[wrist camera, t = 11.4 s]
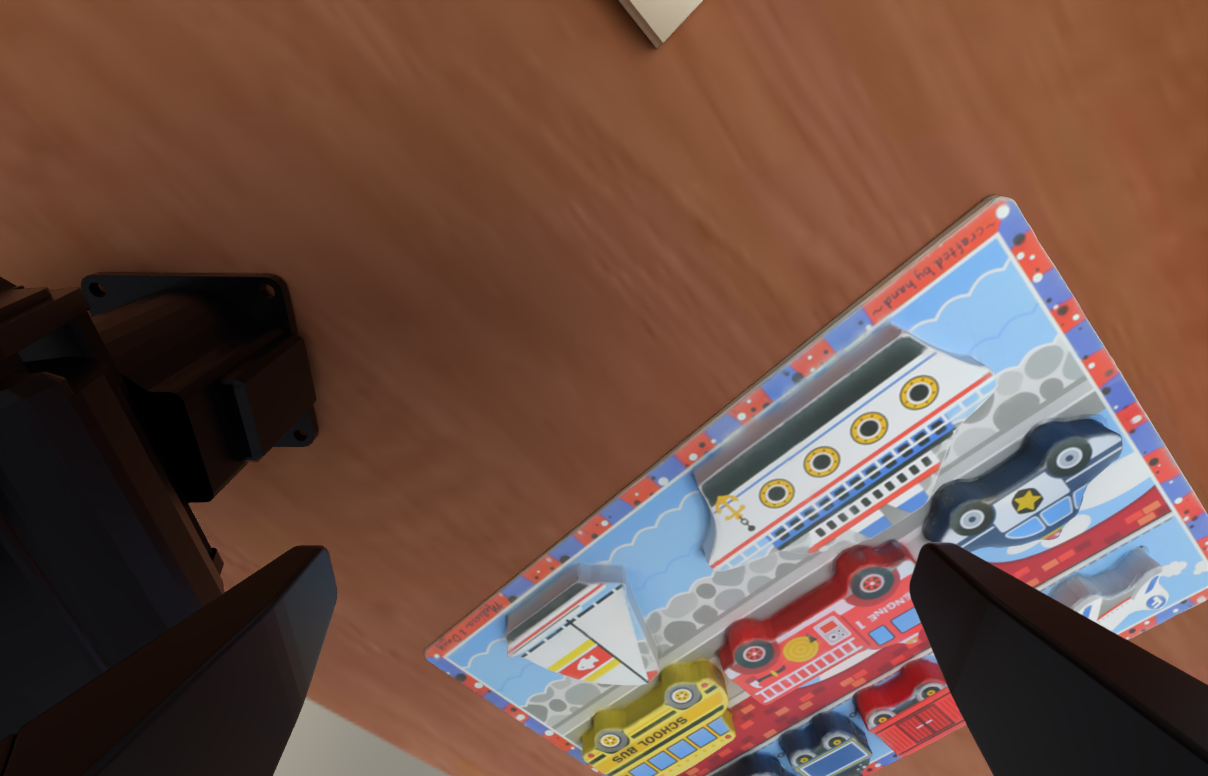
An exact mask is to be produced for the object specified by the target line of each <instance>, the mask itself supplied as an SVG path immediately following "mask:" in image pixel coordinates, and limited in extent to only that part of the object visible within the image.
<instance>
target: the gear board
mask: <svg viewBox="0 0 1208 776" xmlns="http://www.w3.org/2000/svg"><path fill="white" fill-rule="evenodd" d="M618 1H619V2H620V3H621V4H622V6H623V7H624V8H625V10H626V11H627V12H628V13H629V15H630V16H631V17H632V18H633V20H634V21H635V22H636V23H637V25H638V26H639V27H640V28H641V30H642V31H643V32H644V33H645V35H646V36H647V37H648V38H649V40H650V41H651V42H652V44H653V45H654V46H655V47H656V49H657V48H658V47H659V46H660V45H661V44H662V43H663V42H664V41H665V40H666V39H667V38H668V37H669V36H670V35H671V34H672V33H673V32H674V31H675V30H676V28H677V27H678V26H679V25H680V24H681V23H682V22H683V21H684V20H685V19H686V18H687V17H688V16H689V15H690V13H691V12H692V11H693V10H694V9H695V8H696V7H697V6H698V5H699V4H700V3H701V2H702V1H703V0H618Z"/></svg>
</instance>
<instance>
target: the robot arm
mask: <svg viewBox="0 0 1208 776" xmlns="http://www.w3.org/2000/svg"><path fill="white" fill-rule="evenodd" d="M98 283H99V284H101V285H102V286H103V287H104V288H105V290H106V293H104V292H102V291H101V290H100V288H99V287H98ZM266 284H267V285H270V286H271V287H273V289H274V291H275V296H273V295H270V294H269V293H268V292H267V291H266V289H265V285H266ZM81 288H82V290H81ZM81 288H80V287H75V288H67V289H59V290H52V291H49V289H48V288H47V287H40V288H27V289H24V287H23V286H16V285H14V284H12V283H10V282H9V281H7V280H5V279H3V278H1V277H0V776H273V774H274V772H275V770H276V767H277V765H278V763H279V760H280V758H281V756H282V753H283V751H284V749H285V746H286V744H287V742H288V739H289V737H290V735H291V733H292V730H293V728H294V726H295V724H296V721H297V719H298V716H299V714H300V711H301V709H302V706H303V703H304V701H305V698H306V695H307V692H308V689H309V686H310V683H311V680H312V677H313V674H314V670H315V667H316V664H317V661H318V658H319V655H320V652H321V648H322V645H323V642H324V639H325V636H326V633H327V629H328V626H329V623H330V620H331V617H332V614H333V611H334V607H335V604H336V599H337V586H336V581H335V577H334V573H333V568H332V564H331V560H330V555H329V552H328V550H327V549H326V548H325V547H324V546H321V545H301V546H296V547H293V548H292V549H290V550H288V551H287V552H285V553H284V554H282V555H281V556H279V557H278V558H276V559H275V560H273V561H272V562H270V563H269V564H267V565H266V566H264V567H263V568H261V569H260V570H258V571H257V572H255V573H254V574H252V575H251V576H249V577H248V578H246V579H245V580H243V581H242V582H240V583H239V584H237V585H236V586H234V587H233V588H231V589H229V590H228V591H226V592H225V593H224V586H223V580H222V579H221V577H220V574H221V571H222V568H223V565H224V564H223V561H222V559H221V557H220V555H219V553H218V551H217V549H216V548H211V546H210V545H209V543H208V541H207V539H206V537H205V535H204V533H203V531H202V529H201V527H200V526H199V524H198V522H197V520H196V518H195V516H194V514H193V512H192V510H191V508H190V506H189V505H188V503H190V502H209V501H211V500H212V499H213V498H214V497H215V496H216V495H217V494H218V493H219V492H220V491H221V490H222V489H223V488H224V487H225V486H226V485H227V484H228V483H229V482H230V481H231V480H232V479H233V478H234V477H235V476H236V475H237V474H238V473H239V472H240V471H241V470H242V468H243V467H244V466H245V465H246V464H247V463H248V462H258V461H259V460H261V459H262V457H263V456H264V455H265V454H266V453H267V452H268V451H269V450H270V449H271V448H272V447H304V446H309V445H310V444H312V443H313V441H314V440H315V439H316V438H317V436H318V425H317V421H316V416H315V411H314V407H313V404H314V403H315V402H316V395H315V390H314V385H313V380H312V376H311V371H310V366H309V362H308V357H307V352H306V347H305V343H304V339H303V338H302V337H301V336H300V335H299V334H298V333H297V328H296V323H295V319H294V314H293V310H292V305H291V300H290V296H289V291H288V288H287V285H286V283H285V282H284V281H283V280H282V279H281V278H280V277H278V276H276V275H272V274H228V273H139V272H99V273H95V274H91V275H88V276H86V277H85V278H83V279H82V282H81ZM88 310H89V311H90V313H91V316H92V317H91V318H90V316H89V314H88V312H87V311H88ZM298 429H301V430H304V431H305V432H306V433H307V436H305V435H302V434H301V433H300V432H299V431H298ZM909 592H910V597H911V600H912V603H913V605H914V608H915V610H916V612H917V615H918V617H919V620H920V622H921V624H922V627H923V629H924V632H925V634H926V637H927V639H928V641H929V644H930V646H931V649H932V651H933V653H934V656H935V658H936V661H937V663H938V665H939V668H940V670H941V673H942V675H943V677H944V680H945V682H946V684H947V686H948V689H949V691H950V693H951V695H952V697H953V699H954V701H955V703H956V705H957V707H958V709H959V711H960V713H961V715H962V717H963V719H964V721H965V723H966V725H967V726H968V728H969V730H970V732H971V734H972V736H973V738H974V740H975V741H976V743H977V745H978V747H979V749H980V751H981V753H982V755H983V757H984V758H985V760H986V762H987V764H988V766H989V768H990V770H991V772H992V773H993V775H994V776H1208V685H1207V684H1205V683H1203V682H1201V681H1200V680H1198V679H1196V678H1194V677H1192V676H1191V675H1189V674H1187V673H1185V672H1183V671H1182V670H1180V669H1178V668H1176V667H1175V666H1173V665H1171V664H1169V663H1167V662H1166V661H1164V660H1162V659H1160V658H1158V657H1157V656H1155V655H1153V654H1151V653H1150V652H1148V651H1146V650H1144V649H1142V648H1141V647H1139V646H1137V645H1135V644H1133V643H1132V642H1130V641H1128V640H1126V639H1125V638H1123V637H1121V636H1119V635H1117V634H1116V633H1114V632H1112V631H1110V630H1108V629H1107V628H1105V627H1103V626H1101V625H1099V624H1098V623H1096V622H1094V621H1092V620H1091V619H1089V618H1087V617H1085V616H1083V615H1082V614H1080V613H1078V612H1076V611H1074V610H1073V609H1071V608H1069V607H1067V606H1066V605H1064V604H1062V603H1060V602H1058V601H1057V600H1055V599H1053V598H1051V597H1049V596H1048V595H1046V594H1044V593H1042V592H1041V591H1039V590H1037V589H1035V588H1033V587H1032V586H1030V585H1028V584H1026V583H1025V582H1023V581H1021V580H1019V579H1017V578H1016V577H1014V576H1012V575H1010V574H1008V573H1007V572H1005V571H1003V570H1001V569H1000V568H998V567H996V566H994V565H992V564H991V563H989V562H987V561H985V560H983V559H982V558H980V557H978V556H976V555H975V554H973V553H971V552H969V551H967V550H966V549H964V548H962V547H960V546H958V545H957V544H954V543H950V542H929V543H926V544H924V545H923V546H922V547H921V549H920V551H919V554H918V558H917V561H916V564H915V567H914V570H913V573H912V576H911V579H910V584H909Z"/></svg>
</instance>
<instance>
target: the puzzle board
mask: <svg viewBox="0 0 1208 776" xmlns="http://www.w3.org/2000/svg"><path fill="white" fill-rule="evenodd" d="M929 542H950V543H954V544H957V545H958V546H960V547H962V548H964V549H966V550H967V551H969V552H971V553H973V554H975V555H976V556H978V557H980V558H982V559H983V560H985V561H987V562H989V563H991V564H992V565H994V566H996V567H998V568H1000V569H1001V570H1003V571H1005V572H1007V573H1008V574H1010V575H1012V576H1014V577H1016V578H1017V579H1019V580H1021V581H1023V582H1025V583H1026V584H1028V585H1030V586H1032V587H1033V588H1035V589H1037V590H1039V591H1041V592H1042V593H1044V594H1046V595H1048V596H1049V597H1051V598H1053V599H1055V600H1057V601H1058V602H1060V603H1062V604H1064V605H1066V606H1067V607H1069V608H1071V609H1073V610H1074V611H1076V612H1078V613H1080V614H1082V615H1083V616H1085V617H1087V618H1089V619H1091V620H1092V621H1094V622H1096V623H1098V624H1099V625H1101V626H1103V627H1105V628H1107V629H1108V630H1110V631H1112V632H1114V633H1116V634H1117V635H1119V636H1121V637H1123V638H1125V639H1126V640H1129V639H1131V638H1133V637H1135V636H1137V635H1139V634H1140V633H1142V632H1145V631H1147V630H1149V629H1150V628H1152V627H1154V626H1156V625H1158V624H1160V623H1162V622H1165V621H1166V620H1168V619H1170V618H1172V617H1173V616H1175V615H1177V614H1179V613H1182V612H1184V611H1186V610H1188V609H1190V608H1192V607H1194V606H1196V605H1198V604H1200V603H1202V602H1204V601H1206V600H1207V599H1208V514H1207V512H1206V511H1205V509H1204V508H1203V506H1202V504H1201V503H1200V501H1199V499H1198V498H1197V496H1196V494H1195V492H1194V491H1193V489H1192V487H1191V486H1190V484H1189V483H1188V481H1187V480H1186V478H1185V476H1184V475H1183V473H1182V472H1181V470H1180V469H1179V467H1178V465H1177V463H1176V462H1175V460H1174V458H1173V457H1172V455H1171V454H1170V452H1169V450H1168V449H1167V447H1166V446H1165V444H1164V442H1163V441H1162V439H1161V437H1160V436H1159V434H1158V432H1157V431H1156V429H1155V427H1154V426H1153V424H1152V423H1151V421H1150V419H1149V418H1148V416H1147V415H1146V413H1145V412H1144V410H1143V409H1142V407H1141V405H1140V404H1139V402H1138V400H1137V399H1136V397H1135V395H1134V393H1133V392H1132V390H1131V389H1130V387H1129V386H1128V384H1127V382H1126V381H1125V379H1124V377H1123V375H1122V373H1121V372H1120V370H1119V369H1118V368H1117V366H1116V364H1115V362H1114V360H1113V358H1112V357H1111V356H1110V355H1109V353H1108V351H1107V350H1106V348H1105V346H1104V344H1103V343H1102V341H1101V340H1100V338H1099V336H1098V335H1097V333H1096V332H1095V330H1094V329H1093V327H1092V326H1091V324H1090V323H1089V321H1088V320H1087V318H1086V317H1085V315H1084V313H1083V311H1082V309H1081V308H1080V306H1079V304H1078V302H1077V300H1076V299H1075V297H1074V296H1073V294H1072V292H1071V291H1070V289H1069V288H1068V286H1067V284H1066V283H1065V281H1064V280H1063V278H1062V276H1061V275H1060V273H1059V272H1058V270H1057V269H1056V267H1055V265H1054V264H1053V262H1052V261H1051V259H1050V258H1049V256H1048V255H1047V253H1046V252H1045V250H1044V249H1043V247H1042V246H1041V244H1040V243H1039V241H1038V239H1037V237H1036V235H1035V234H1034V232H1033V230H1032V228H1031V227H1030V225H1029V224H1028V222H1027V221H1026V219H1025V218H1024V216H1023V214H1022V212H1021V211H1020V209H1019V207H1018V206H1017V204H1016V202H1015V201H1014V200H1012V199H1011V198H1007V197H1003V196H998V195H991V196H988V197H986V198H985V199H984V200H982V201H981V202H980V203H979V204H977V205H976V206H975V207H974V208H972V209H971V210H970V211H968V212H967V213H966V214H965V215H963V216H962V217H961V218H960V219H958V220H957V221H956V222H955V223H953V224H952V225H951V226H950V227H948V228H947V229H946V230H944V231H943V232H942V233H941V234H939V235H938V236H937V237H936V238H934V239H933V240H932V241H931V242H929V243H928V244H927V245H926V246H924V247H923V248H922V249H921V250H919V251H918V252H917V253H916V254H914V255H913V256H912V257H911V258H909V259H908V260H907V261H906V262H904V263H903V264H902V265H901V266H899V267H898V268H897V269H896V270H894V271H893V272H892V273H891V274H890V275H888V276H887V277H886V278H885V279H883V280H882V281H881V282H880V283H878V284H877V285H876V286H875V287H873V288H872V289H871V290H870V291H868V292H867V293H866V294H865V295H863V296H862V297H861V298H860V299H858V300H857V301H856V302H855V303H853V304H852V305H851V306H850V307H848V308H847V309H846V310H845V311H843V312H842V313H841V314H840V315H839V316H837V317H836V318H835V319H834V320H832V321H831V322H830V323H829V324H827V325H826V326H825V327H824V328H822V329H821V330H820V331H819V332H817V333H816V334H815V335H814V336H812V337H811V338H810V339H809V340H808V341H806V342H805V343H804V344H803V345H801V346H800V347H799V348H798V349H796V350H795V351H794V352H793V353H791V354H790V355H789V356H788V357H786V358H785V359H784V360H783V361H782V362H780V363H779V364H778V365H777V366H775V367H774V368H773V369H772V370H770V371H769V372H768V373H767V374H765V375H764V376H763V377H762V378H760V379H759V380H758V381H757V382H755V383H754V384H753V385H752V386H751V387H749V388H748V389H747V390H746V391H744V392H743V393H742V394H741V395H739V396H738V397H737V398H736V399H734V400H733V401H732V402H731V403H729V404H728V405H727V406H726V407H724V408H723V409H722V410H721V411H720V412H718V413H717V414H716V415H715V416H713V417H712V418H711V419H710V420H708V421H707V422H706V423H705V424H703V425H702V426H701V427H700V428H698V429H697V430H696V431H695V432H693V433H692V434H691V435H690V436H689V437H687V438H686V439H685V440H684V441H682V442H681V443H680V444H679V445H677V446H676V447H675V448H674V449H672V450H671V451H670V452H669V453H667V454H666V455H665V456H664V457H663V458H661V459H660V460H659V461H658V462H656V463H655V464H654V465H653V466H651V467H650V468H649V469H648V470H646V471H645V472H644V473H643V474H641V475H640V476H639V477H638V478H637V479H635V480H634V481H633V482H632V483H630V484H629V485H628V486H626V487H625V488H624V489H623V490H621V491H620V492H619V493H618V494H617V495H615V496H614V497H613V498H612V499H610V500H609V501H608V502H607V503H605V504H604V505H603V506H602V507H600V508H599V509H598V510H597V511H596V512H594V513H593V514H592V515H591V516H589V517H588V518H587V519H586V520H584V521H583V522H582V523H581V524H579V525H578V526H577V527H576V528H574V529H573V530H572V531H571V532H570V533H568V534H567V535H566V536H565V537H563V538H562V539H561V540H560V541H558V542H557V543H556V544H555V545H553V546H552V547H551V548H550V549H548V550H547V551H546V552H545V553H543V554H542V555H541V556H540V557H539V558H537V559H536V560H535V561H534V562H532V563H531V564H530V565H529V566H527V567H526V568H525V569H524V570H522V571H521V572H520V573H519V574H517V575H516V576H515V577H514V578H513V579H511V580H510V581H509V582H508V583H506V584H505V585H504V586H503V587H501V588H500V589H499V590H498V591H496V592H495V593H494V594H493V595H492V596H490V597H489V598H488V599H487V600H485V601H484V602H483V603H482V604H480V605H479V606H478V607H477V608H475V609H474V610H473V611H472V612H470V613H469V614H468V615H467V616H465V617H464V618H463V619H462V620H460V621H459V622H458V623H457V624H455V625H454V626H453V627H452V628H450V629H449V630H448V631H447V632H446V633H444V634H443V635H442V636H441V637H439V638H438V639H437V640H436V641H434V642H433V643H432V644H431V645H430V646H428V647H427V648H426V649H425V658H426V659H427V661H429V662H430V663H432V664H433V665H435V666H436V667H438V668H439V669H441V670H442V671H444V672H445V673H447V674H449V675H450V676H452V677H453V678H455V679H456V680H458V681H459V682H461V683H462V684H464V685H465V686H467V687H468V688H470V689H471V690H473V691H474V692H476V693H477V694H479V695H480V696H482V697H483V698H485V699H486V700H488V701H489V702H491V703H492V704H494V705H495V706H497V707H498V708H500V709H501V710H503V711H505V712H506V713H508V714H509V715H511V716H512V717H513V718H515V719H516V720H518V721H520V722H521V723H523V724H524V725H525V726H527V727H528V728H530V729H532V730H533V731H535V732H536V733H538V734H539V735H541V736H542V737H544V738H546V739H547V740H549V741H550V742H552V743H553V744H554V745H555V746H557V747H559V748H560V749H562V750H563V751H565V752H566V753H568V754H569V755H571V756H572V757H574V758H575V759H577V760H579V761H580V762H582V763H583V764H585V765H587V766H588V767H590V768H591V769H592V770H593V771H595V772H597V773H599V774H600V775H602V776H867V775H869V774H871V773H873V772H875V771H877V770H879V769H881V768H883V767H884V766H886V765H888V764H890V763H892V762H894V761H896V760H898V759H900V758H902V757H904V756H906V755H909V754H911V753H913V752H915V751H917V750H919V749H921V748H923V747H925V746H927V745H929V744H931V743H933V742H935V741H937V740H939V739H941V738H943V737H945V736H947V735H948V734H950V733H952V732H954V731H956V730H958V729H960V728H962V727H964V726H965V725H966V723H965V721H964V719H963V717H962V715H961V713H960V711H959V709H958V707H957V705H956V703H955V701H954V699H953V697H952V695H951V693H950V691H949V689H948V686H947V684H946V682H945V680H944V677H943V675H942V673H941V670H940V668H939V665H938V663H937V661H936V658H935V656H934V653H933V651H932V649H931V646H930V644H929V641H928V639H927V637H926V634H925V632H924V629H923V627H922V624H921V622H920V620H919V617H918V615H917V612H916V610H915V608H914V605H913V603H912V600H911V597H910V592H909V584H910V579H911V576H912V573H913V570H914V567H915V564H916V561H917V558H918V554H919V551H920V549H921V547H922V546H923V545H924V544H926V543H929Z"/></svg>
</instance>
